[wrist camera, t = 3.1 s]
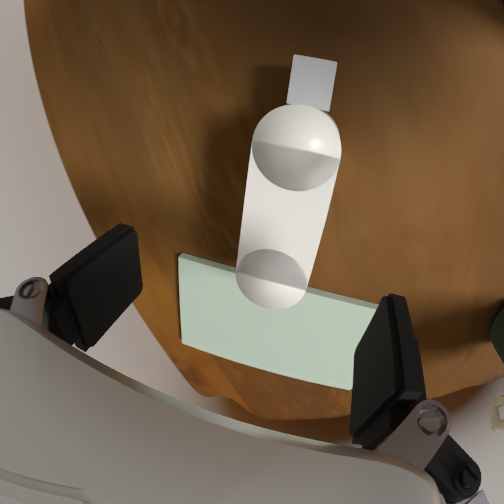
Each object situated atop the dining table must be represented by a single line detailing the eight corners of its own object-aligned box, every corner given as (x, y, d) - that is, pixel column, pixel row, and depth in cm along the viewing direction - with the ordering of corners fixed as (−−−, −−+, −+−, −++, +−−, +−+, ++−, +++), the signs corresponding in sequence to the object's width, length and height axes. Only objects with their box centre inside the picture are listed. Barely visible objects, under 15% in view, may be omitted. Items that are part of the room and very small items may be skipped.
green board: (397, 308, 23) (398, 314, 22) (350, 384, 29) (350, 390, 28) (182, 252, 26) (178, 257, 25) (185, 338, 32) (182, 343, 32)
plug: (351, 73, 15) (358, 59, 10) (308, 267, 23) (297, 316, 18) (286, 61, 16) (265, 43, 11) (256, 254, 24) (232, 298, 19)
